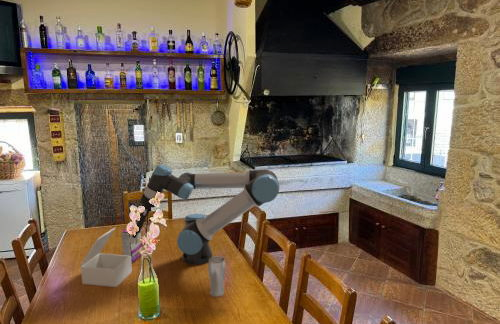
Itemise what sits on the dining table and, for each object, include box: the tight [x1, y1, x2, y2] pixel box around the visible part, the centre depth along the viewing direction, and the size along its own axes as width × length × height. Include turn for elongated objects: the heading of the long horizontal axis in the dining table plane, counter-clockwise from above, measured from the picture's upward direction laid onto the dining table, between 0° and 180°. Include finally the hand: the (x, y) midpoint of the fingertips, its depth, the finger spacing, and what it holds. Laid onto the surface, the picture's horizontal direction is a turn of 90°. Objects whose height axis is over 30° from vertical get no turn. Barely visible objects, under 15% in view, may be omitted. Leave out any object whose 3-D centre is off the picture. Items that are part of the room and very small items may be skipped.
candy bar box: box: [120, 228, 143, 264], centre depth 176 cm, size 11×5×16 cm, turn 169°
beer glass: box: [207, 255, 226, 298], centre depth 145 cm, size 7×7×15 cm
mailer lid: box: [79, 227, 116, 267], centre depth 156 cm, size 16×14×1 cm
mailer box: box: [80, 252, 133, 288], centre depth 157 cm, size 16×14×8 cm
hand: (132, 235), depth 163 cm, fingers open, 13 cm apart
